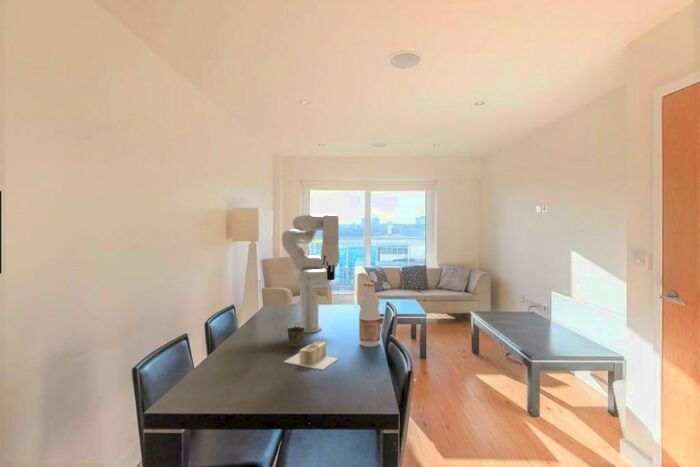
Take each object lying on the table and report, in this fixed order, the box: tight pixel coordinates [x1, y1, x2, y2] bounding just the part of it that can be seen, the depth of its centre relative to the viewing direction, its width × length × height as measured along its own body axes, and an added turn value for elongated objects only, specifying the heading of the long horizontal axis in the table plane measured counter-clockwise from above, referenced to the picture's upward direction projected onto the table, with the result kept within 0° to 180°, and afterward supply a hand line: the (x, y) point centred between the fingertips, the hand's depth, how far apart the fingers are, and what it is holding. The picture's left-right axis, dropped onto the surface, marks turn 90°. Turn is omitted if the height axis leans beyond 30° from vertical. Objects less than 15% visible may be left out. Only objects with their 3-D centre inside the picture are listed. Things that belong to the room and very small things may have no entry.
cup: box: [287, 326, 305, 348], centre depth 154 cm, size 8×7×8 cm
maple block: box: [299, 340, 327, 365], centre depth 138 cm, size 5×5×12 cm
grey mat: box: [283, 352, 339, 371], centre depth 137 cm, size 18×12×1 cm, turn 64°
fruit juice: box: [358, 282, 381, 348], centre depth 157 cm, size 9×9×28 cm
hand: (330, 279), depth 161 cm, fingers closed
